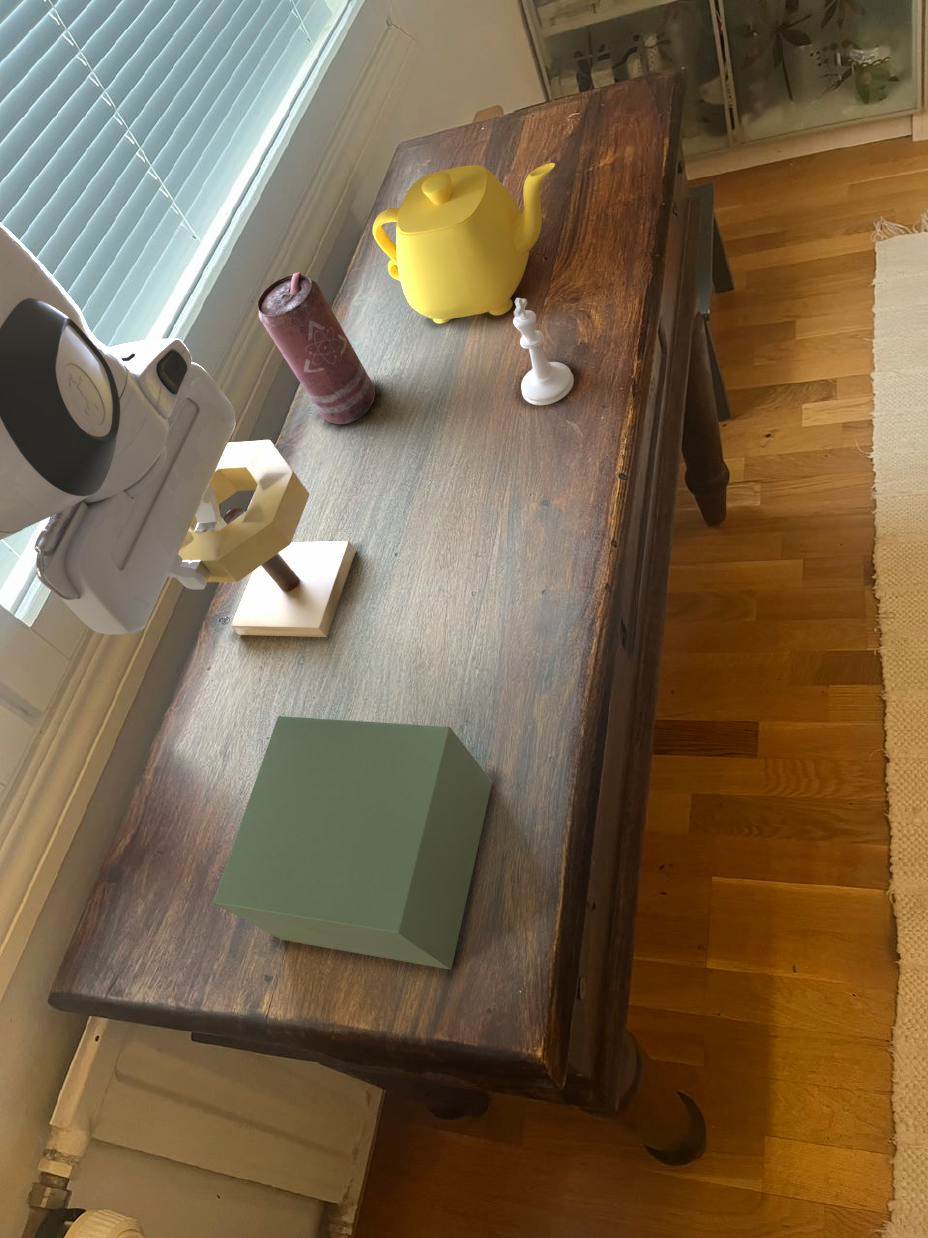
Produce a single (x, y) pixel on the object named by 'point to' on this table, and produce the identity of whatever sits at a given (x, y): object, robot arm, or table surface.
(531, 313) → the chess piece
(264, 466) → the brass ring
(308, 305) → the can
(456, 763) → the plinth
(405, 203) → the teapot
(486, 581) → the table surface
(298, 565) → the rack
